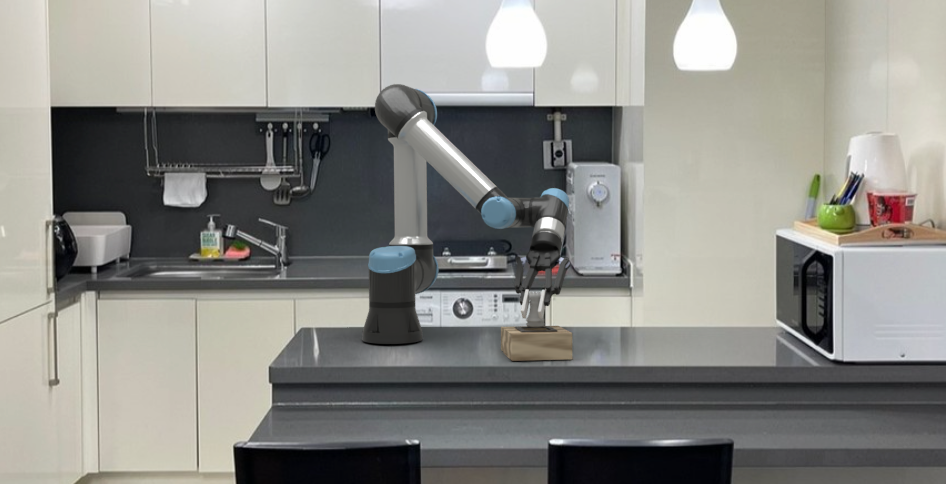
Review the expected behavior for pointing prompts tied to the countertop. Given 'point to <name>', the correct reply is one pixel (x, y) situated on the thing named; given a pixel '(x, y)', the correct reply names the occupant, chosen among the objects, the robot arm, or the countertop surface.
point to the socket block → (536, 343)
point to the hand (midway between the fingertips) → (531, 314)
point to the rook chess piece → (534, 311)
